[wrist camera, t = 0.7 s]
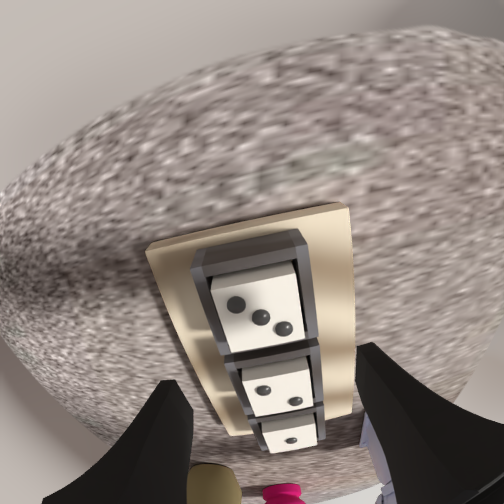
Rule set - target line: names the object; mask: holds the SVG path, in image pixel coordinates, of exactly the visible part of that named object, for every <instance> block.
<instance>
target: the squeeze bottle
mask: <svg viewBox="0 0 504 504" xmlns="http://www.w3.org/2000/svg"><path fill="white" fill-rule="evenodd" d="M241 499H242V491H241V489H240V486H239V484H238V482H237V479H236V477H235V474H234V472H233V471H232V469H229V468H227V467H224V466H220V465H213V464H200V465H195V466H193V467H192V468H191V469H190V471H189V473H188V477H187V504H241Z"/></svg>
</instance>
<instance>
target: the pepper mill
mask: <svg viewBox="0 0 504 504" xmlns="http://www.w3.org/2000/svg"><path fill="white" fill-rule="evenodd" d="M300 495H301V489H300V486H299V485H297V484H278V485H273V486H269V487H266V488H265V489H263V499H264V500H266V501H267V502H266V503H265V504H305V502H304V501H302V500H301V499H299V498H298V497H299V496H300Z"/></svg>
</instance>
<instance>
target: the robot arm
mask: <svg viewBox="0 0 504 504" xmlns="http://www.w3.org/2000/svg"><path fill="white" fill-rule="evenodd" d="M355 382H356V385H357V389H358V392H359V395H360V398H361V401H362V404H363V406H364V409H365V411H366V412H365V415H364V421H363V427H362V433H361V438H360V443H359V446H360V448H363V447H366V446H367V447H368V450H369V453H370V456H371V459H372V462H373V465H374V468H375V471H376V474H377V477H378V479H379V481H380V482H381V483H382V484H383V485H385V486H384V487H382V488H381V491H382V494H380V495H379V496H378V498H377V501H376V502H375V504H504V424H501V423H498V422H495V421H491V420H488V419H486V418H483V417H481V416H478V415H476V414H473V413H471V412H469V411H467V410H464V409H462V408H461V407H459V406H457V405H455V404H453V403H451V402H449V401H448V400H446V399H444V398H443V397H441V396H439V395H438V394H436V393H435V392H433V391H432V390H430V389H429V388H427V387H426V386H425V385H423V384H422V383H420V382H419V381H418V380H416V379H415V378H414V377H413V376H411V375H410V374H409V373H408V372H406V371H405V370H404V369H403V368H401V367H400V366H399V365H398V364H397V363H396V362H394V361H393V360H392V359H391V358H390V357H389V356H388V355H387V354H385V353H384V352H383V351H382V350H381V349H380V348H379V347H378V346H377V345H376V344H375V343H373V342H370V343H367V344H363V345H360V346H357V355H356V377H355ZM192 439H193V409H192V407H191V406H190V404H189V402H188V401H187V399H186V397H185V396H184V394H183V392H182V391H181V389H180V387H179V385H178V384H177V382H176V380H162V381H160V383H159V384H158V385H157V387H156V388H155V390H154V391H153V393H152V394H151V396H150V397H149V399H148V400H147V401H146V403H145V404H144V406H143V407H142V409H141V410H140V412H139V413H138V414H137V416H136V417H135V419H134V420H133V422H132V423H131V424H130V426H129V427H128V428H127V429H126V431H125V432H124V433H123V435H122V436H121V437H120V438H119V440H118V441H117V442H116V443H115V444H114V445H113V447H112V448H111V449H110V450H109V451H108V452H107V453H106V454H105V455H104V456H103V457H102V458H101V459H100V460H99V461H98V462H97V463H96V464H95V465H93V466H92V467H91V468H90V469H89V470H87V471H86V472H85V473H84V474H83V475H81V476H80V477H79V478H77V479H76V480H75V481H73V482H71V483H70V484H68V485H67V486H65V487H64V488H62V489H61V490H58V491H57V492H55V493H53V494H51V495H49V496H47V497H45V498H43V501H42V504H187V477H188V469H189V462H190V454H191V447H192Z"/></svg>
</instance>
